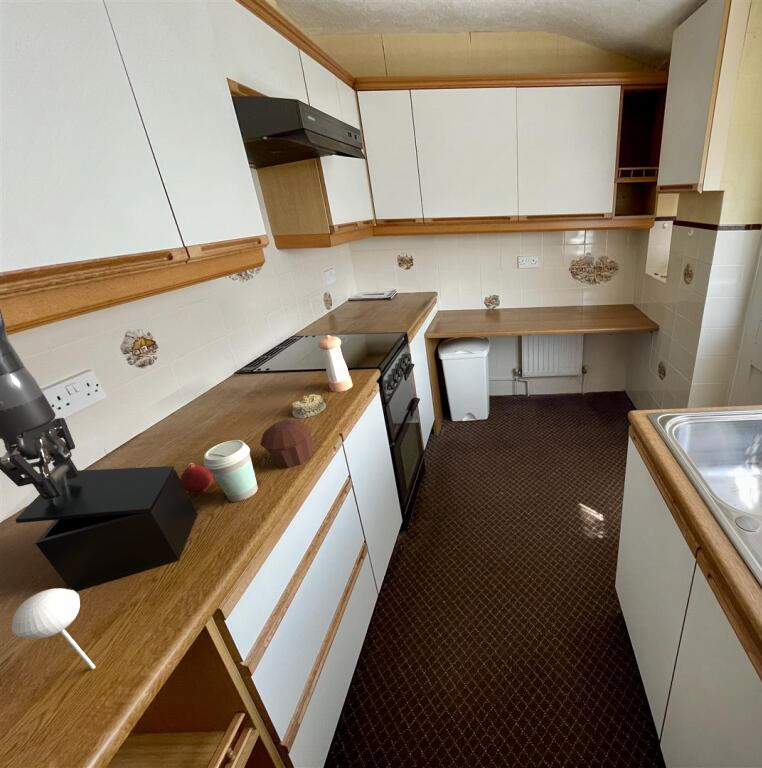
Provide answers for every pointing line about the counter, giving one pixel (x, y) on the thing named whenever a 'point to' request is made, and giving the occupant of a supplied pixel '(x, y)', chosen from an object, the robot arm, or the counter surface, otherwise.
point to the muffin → (288, 442)
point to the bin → (120, 540)
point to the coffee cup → (232, 469)
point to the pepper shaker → (335, 364)
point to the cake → (308, 406)
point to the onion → (196, 478)
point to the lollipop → (49, 617)
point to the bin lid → (99, 493)
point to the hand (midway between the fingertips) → (62, 486)
